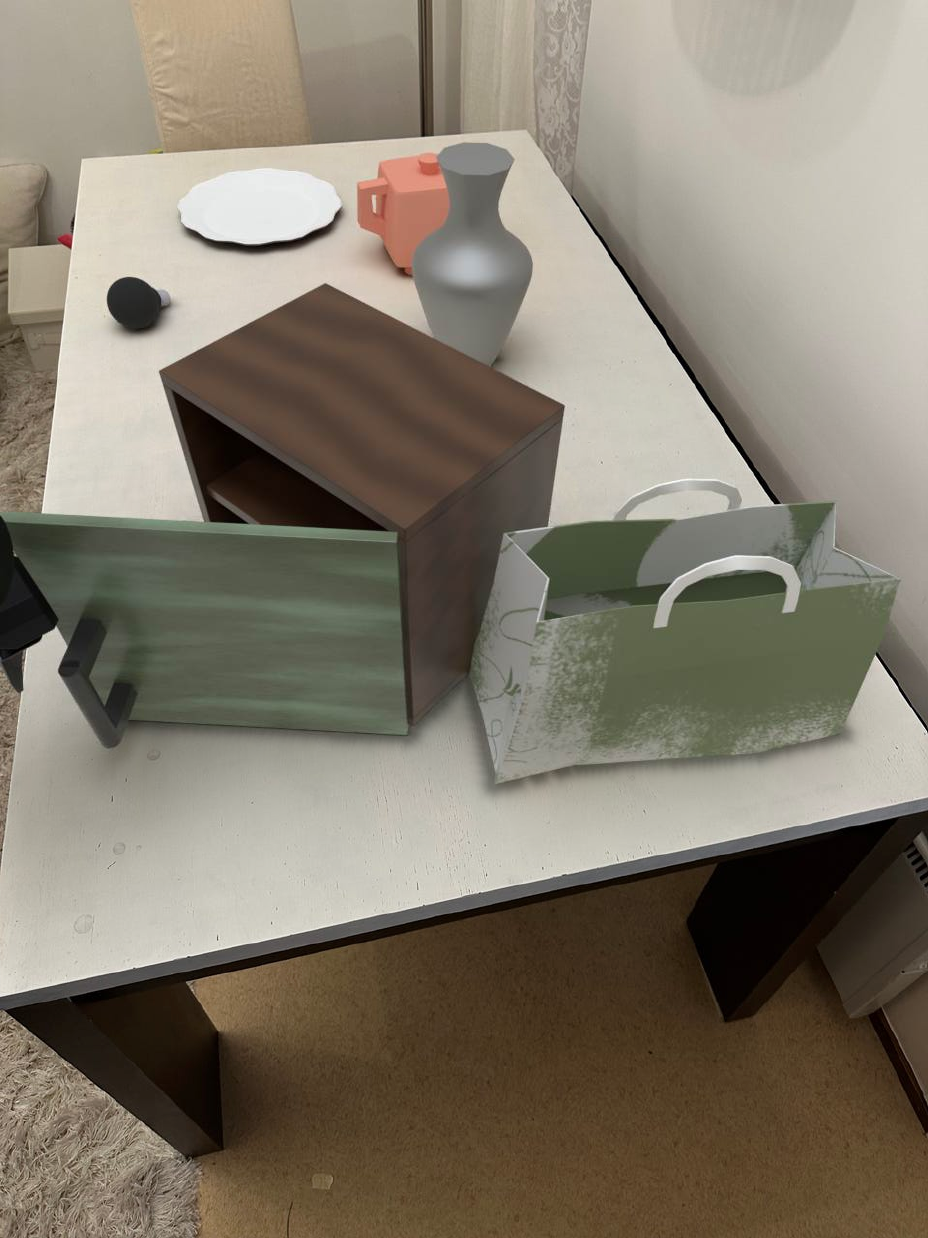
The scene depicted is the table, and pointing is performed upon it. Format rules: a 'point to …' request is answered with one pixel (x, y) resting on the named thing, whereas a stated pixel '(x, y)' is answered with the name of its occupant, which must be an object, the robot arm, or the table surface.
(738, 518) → the grocery bag
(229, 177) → the plate
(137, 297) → the light bulb
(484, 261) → the vase
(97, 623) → the green cabinet door
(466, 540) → the wooden cabinet
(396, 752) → the table surface
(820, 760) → the table surface
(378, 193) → the teapot
